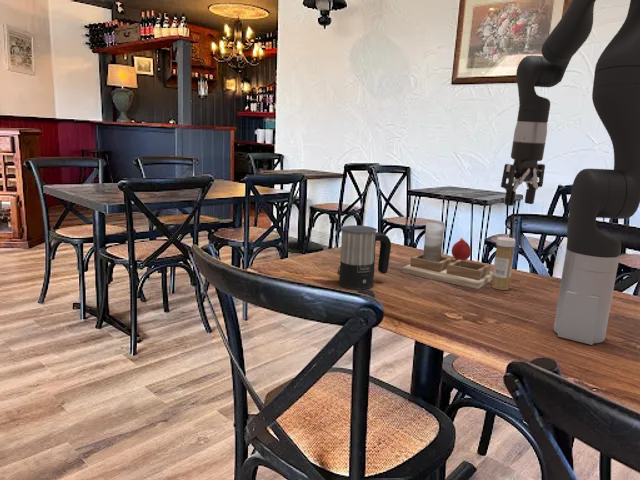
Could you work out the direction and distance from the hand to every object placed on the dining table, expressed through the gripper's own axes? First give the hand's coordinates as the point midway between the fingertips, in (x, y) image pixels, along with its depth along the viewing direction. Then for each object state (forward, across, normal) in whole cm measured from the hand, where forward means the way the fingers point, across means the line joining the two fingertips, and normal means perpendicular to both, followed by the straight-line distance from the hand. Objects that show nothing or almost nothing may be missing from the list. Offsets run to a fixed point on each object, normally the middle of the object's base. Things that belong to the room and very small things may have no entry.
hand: (519, 204), depth 126 cm
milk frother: (+22, -36, +22) cm, 47 cm away
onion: (+23, +8, +22) cm, 33 cm away
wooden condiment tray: (+22, -7, +14) cm, 27 cm away
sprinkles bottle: (+22, -4, -1) cm, 23 cm away
